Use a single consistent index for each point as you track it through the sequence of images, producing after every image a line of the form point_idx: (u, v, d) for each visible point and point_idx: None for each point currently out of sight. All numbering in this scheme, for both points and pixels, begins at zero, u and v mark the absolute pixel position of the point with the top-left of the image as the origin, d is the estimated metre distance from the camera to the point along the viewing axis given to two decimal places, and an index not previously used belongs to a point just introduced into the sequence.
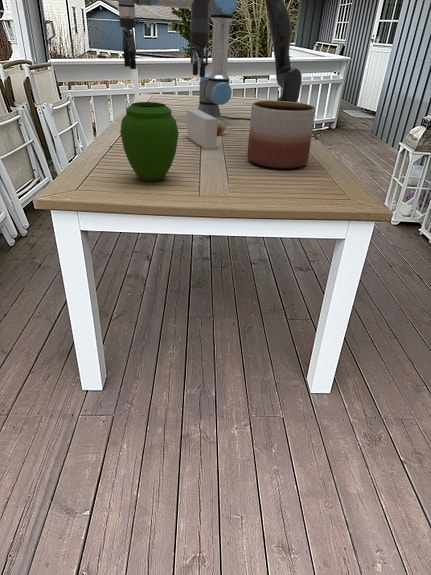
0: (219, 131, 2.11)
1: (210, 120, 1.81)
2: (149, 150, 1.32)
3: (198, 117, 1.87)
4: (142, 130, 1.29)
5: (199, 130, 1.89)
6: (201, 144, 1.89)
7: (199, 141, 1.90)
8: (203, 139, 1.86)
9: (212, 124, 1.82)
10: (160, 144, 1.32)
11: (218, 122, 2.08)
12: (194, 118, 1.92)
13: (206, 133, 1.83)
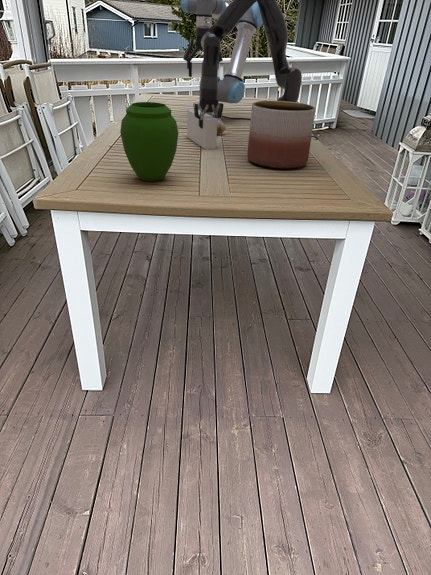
0: (219, 131, 2.11)
1: (210, 120, 1.81)
2: (149, 150, 1.32)
3: None
4: (142, 130, 1.29)
5: (199, 130, 1.89)
6: (201, 144, 1.89)
7: (199, 141, 1.90)
8: (203, 139, 1.86)
9: (212, 124, 1.82)
10: (160, 144, 1.32)
11: (218, 122, 2.08)
12: (194, 118, 1.92)
13: (206, 133, 1.83)
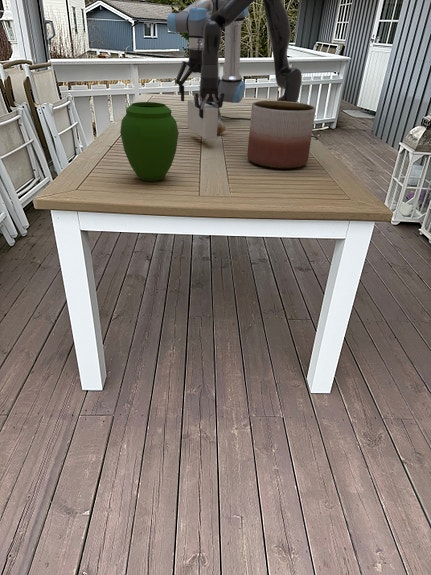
0: (219, 131, 2.11)
1: (210, 110, 1.79)
2: (149, 150, 1.32)
3: None
4: (142, 130, 1.29)
5: (199, 120, 1.87)
6: (201, 134, 1.87)
7: (200, 131, 1.88)
8: (204, 129, 1.83)
9: (213, 114, 1.80)
10: (160, 144, 1.32)
11: (218, 122, 2.08)
12: (194, 108, 1.90)
13: (206, 123, 1.81)
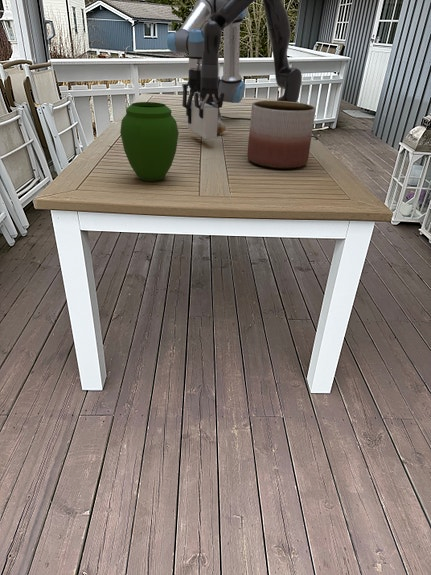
0: (219, 131, 2.11)
1: (210, 110, 1.79)
2: (149, 150, 1.32)
3: None
4: (142, 130, 1.29)
5: (199, 120, 1.87)
6: (201, 134, 1.87)
7: (200, 131, 1.88)
8: (204, 129, 1.83)
9: (212, 114, 1.80)
10: (160, 144, 1.32)
11: (218, 122, 2.08)
12: (194, 108, 1.90)
13: (206, 123, 1.81)
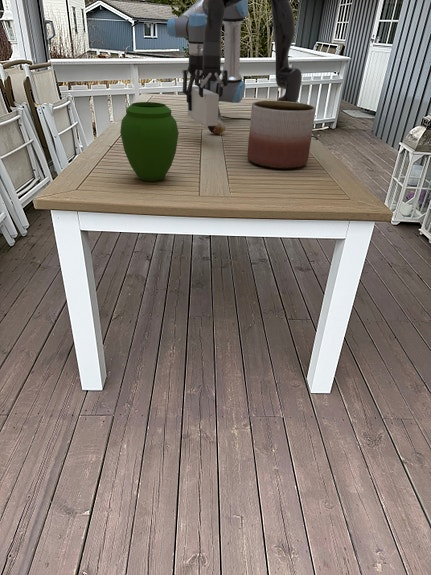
0: (219, 131, 2.11)
1: (211, 96, 1.76)
2: (149, 150, 1.32)
3: None
4: (142, 130, 1.29)
5: (199, 107, 1.84)
6: (202, 121, 1.84)
7: (200, 118, 1.85)
8: (204, 115, 1.81)
9: (213, 100, 1.77)
10: (160, 144, 1.32)
11: (218, 122, 2.08)
12: (195, 94, 1.87)
13: (207, 109, 1.78)
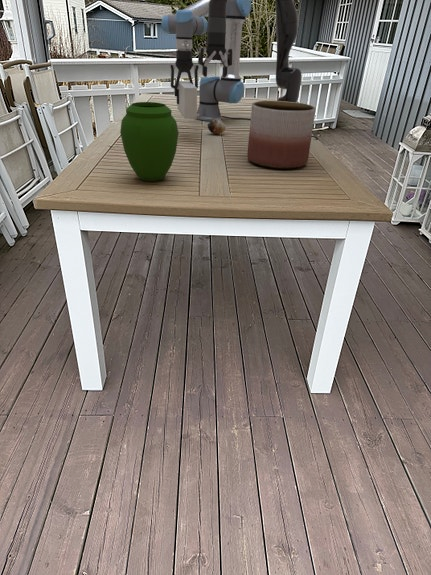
0: (219, 131, 2.11)
1: (189, 89, 1.81)
2: (149, 150, 1.32)
3: (181, 87, 1.88)
4: (142, 130, 1.29)
5: (182, 100, 1.90)
6: (183, 114, 1.90)
7: (182, 111, 1.91)
8: (183, 108, 1.86)
9: (191, 93, 1.82)
10: (160, 144, 1.32)
11: (218, 122, 2.08)
12: (180, 88, 1.93)
13: (185, 102, 1.84)
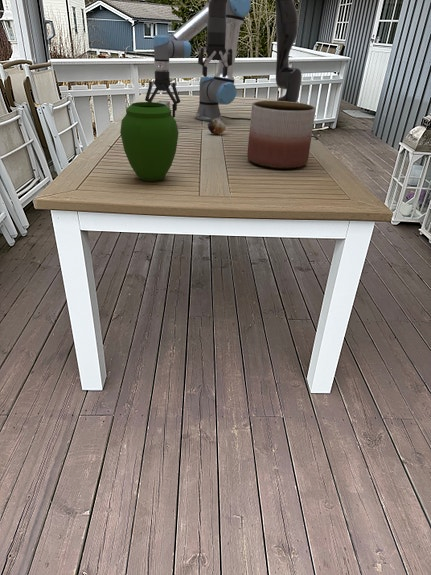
0: (219, 131, 2.11)
1: None
2: (149, 150, 1.32)
3: None
4: (142, 130, 1.29)
5: None
6: None
7: None
8: None
9: None
10: (160, 144, 1.32)
11: (218, 122, 2.08)
12: None
13: None
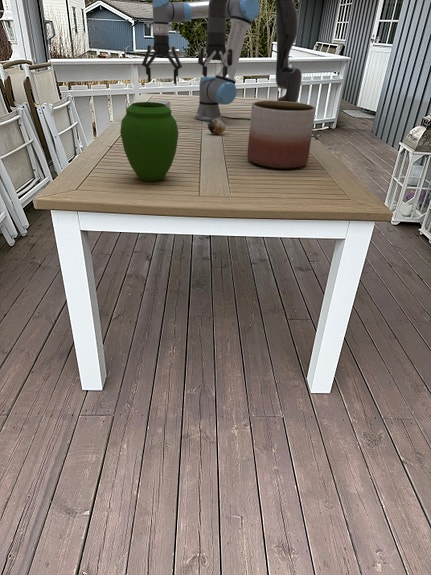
0: (219, 131, 2.11)
1: None
2: (149, 150, 1.32)
3: None
4: (142, 130, 1.29)
5: None
6: None
7: None
8: None
9: None
10: (160, 144, 1.32)
11: (218, 122, 2.08)
12: None
13: None
